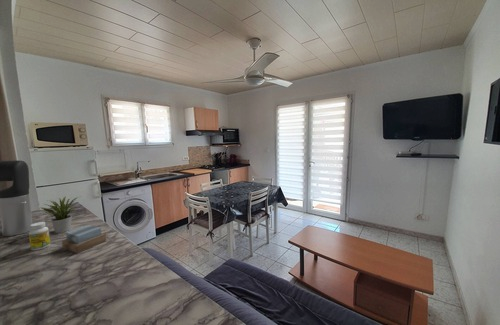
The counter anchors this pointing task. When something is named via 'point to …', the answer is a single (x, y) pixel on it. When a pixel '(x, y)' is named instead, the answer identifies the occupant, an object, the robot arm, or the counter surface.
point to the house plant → (61, 215)
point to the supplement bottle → (39, 236)
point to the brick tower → (83, 238)
